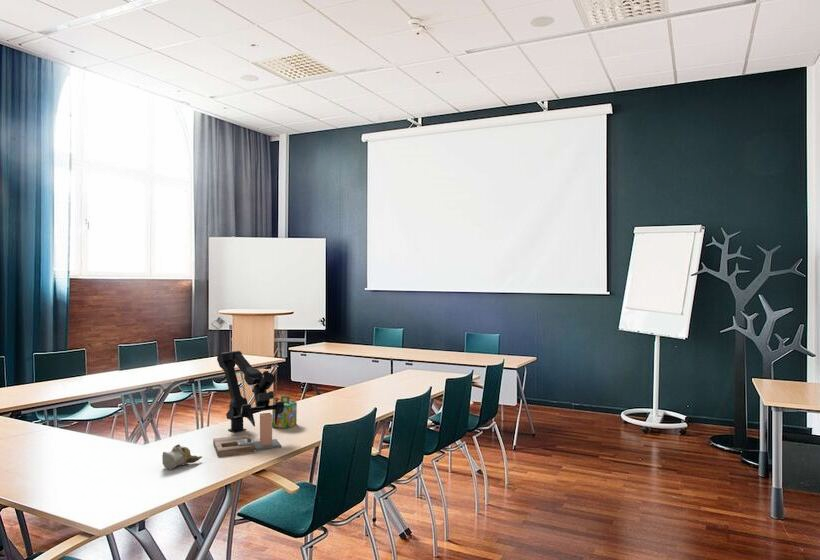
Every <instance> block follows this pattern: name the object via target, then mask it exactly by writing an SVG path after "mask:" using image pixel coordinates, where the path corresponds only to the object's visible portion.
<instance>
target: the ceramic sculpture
mask: <svg viewBox="0 0 820 560" xmlns="http://www.w3.org/2000/svg"><path fill="white" fill-rule="evenodd" d="M161 456H162V459H161V461H162V465H163V467H164V468H165V469H166V468H167V470H173V469H175V467H179V466H178V465H181V466H184V465H186V464H192V463H193V464H194V463H195V462H198V461H199V460H201V459H202V458H203V456H197V455H191V450H190V448H188V447H187V446H184V445H183V446H182V445H181V444H180V443H177V444H176V445H175V446H173V447H172V450H171V451H163V452H162V455H161ZM183 464H184V465H183Z"/></svg>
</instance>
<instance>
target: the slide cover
mask: <svg viewBox="0 0 820 560" xmlns="http://www.w3.org/2000/svg"><path fill="white" fill-rule="evenodd" d="M252 440H253V439H252V438H251V437H249V438H247V439H241V440H236V442H237V444H238V446H242V445H250V444H253V442H254V441H252Z"/></svg>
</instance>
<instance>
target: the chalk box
mask: <svg viewBox="0 0 820 560" xmlns="http://www.w3.org/2000/svg"><path fill="white" fill-rule="evenodd" d="M290 397H291V396H289V395H282V396H281V397H280V401H283V402H284V405H285V406H284V410H283V412H282V413H281V414H278V417H277V421H276V424H275V423H274V410H271V411H272V412H271V414H272V428H279V429H287V430H288V429H290V428H292V427H294V426H296V425H297V422H298V421H297V418H298V417H297V414H298V411H297V409H298V407H297V404H298V403H297V402H296V401H290V400H291V398H290ZM284 399H286V400H284ZM274 404H275V403H273V404H272V405H274Z"/></svg>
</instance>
